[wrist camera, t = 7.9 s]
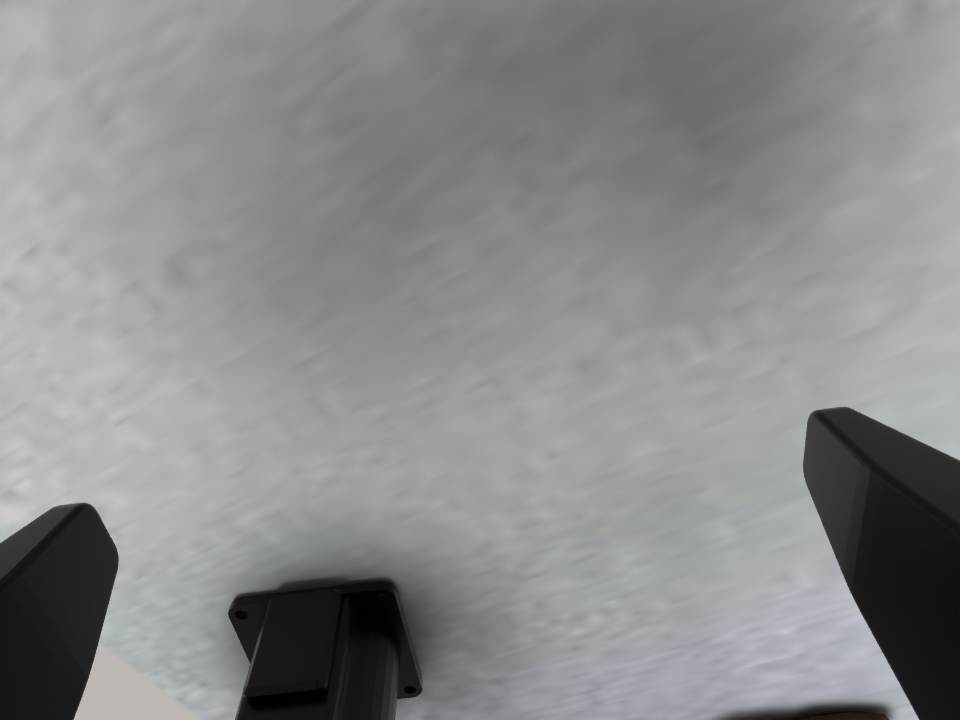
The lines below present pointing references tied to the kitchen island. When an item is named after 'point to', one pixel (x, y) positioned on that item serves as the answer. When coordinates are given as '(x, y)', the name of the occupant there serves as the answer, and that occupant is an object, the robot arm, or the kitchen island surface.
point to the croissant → (849, 716)
